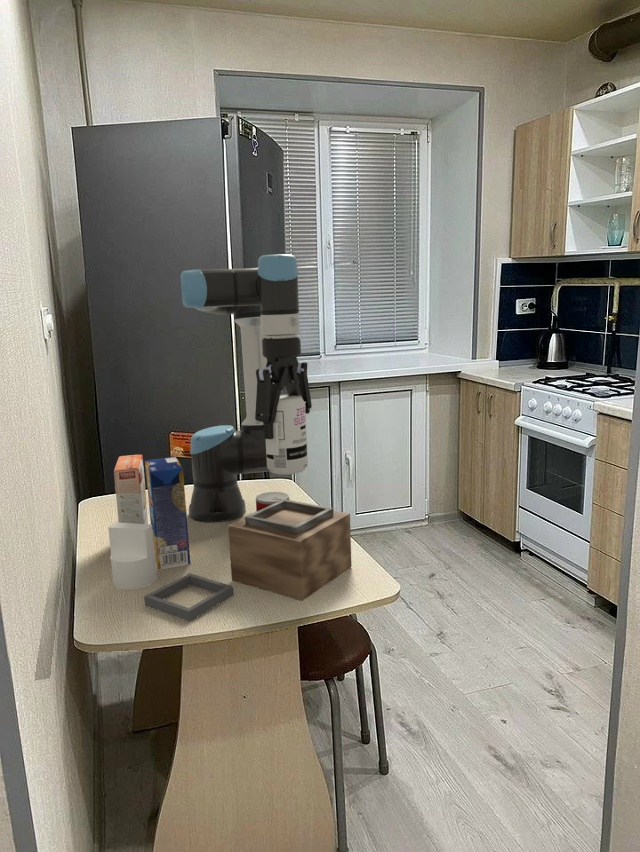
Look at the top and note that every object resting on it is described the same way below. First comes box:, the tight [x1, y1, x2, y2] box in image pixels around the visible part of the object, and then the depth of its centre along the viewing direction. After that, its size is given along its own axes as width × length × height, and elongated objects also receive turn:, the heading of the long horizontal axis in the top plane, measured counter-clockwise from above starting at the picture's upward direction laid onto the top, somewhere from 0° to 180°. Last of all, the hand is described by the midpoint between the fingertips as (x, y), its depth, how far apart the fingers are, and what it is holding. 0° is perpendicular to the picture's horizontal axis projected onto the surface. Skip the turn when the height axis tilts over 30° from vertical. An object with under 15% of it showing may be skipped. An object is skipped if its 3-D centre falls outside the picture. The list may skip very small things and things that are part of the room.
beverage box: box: [144, 456, 191, 571], centre depth 146 cm, size 7×11×22 cm, turn 20°
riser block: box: [227, 499, 353, 601], centre depth 137 cm, size 18×18×14 cm
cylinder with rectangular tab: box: [107, 521, 159, 590], centre depth 137 cm, size 9×9×12 cm
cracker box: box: [113, 454, 149, 524], centre depth 154 cm, size 14×6×21 cm, turn 12°
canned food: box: [255, 491, 290, 512], centre depth 156 cm, size 8×8×11 cm
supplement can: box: [266, 393, 309, 476], centre depth 132 cm, size 8×8×15 cm
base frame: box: [143, 572, 235, 622], centre depth 127 cm, size 12×12×2 cm
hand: (286, 449), depth 132 cm, fingers closed on supplement can, 8 cm apart
